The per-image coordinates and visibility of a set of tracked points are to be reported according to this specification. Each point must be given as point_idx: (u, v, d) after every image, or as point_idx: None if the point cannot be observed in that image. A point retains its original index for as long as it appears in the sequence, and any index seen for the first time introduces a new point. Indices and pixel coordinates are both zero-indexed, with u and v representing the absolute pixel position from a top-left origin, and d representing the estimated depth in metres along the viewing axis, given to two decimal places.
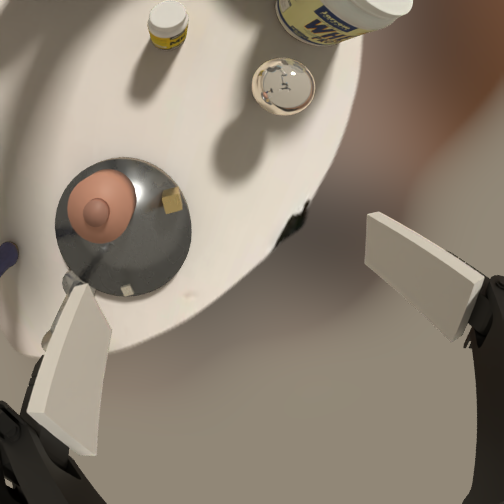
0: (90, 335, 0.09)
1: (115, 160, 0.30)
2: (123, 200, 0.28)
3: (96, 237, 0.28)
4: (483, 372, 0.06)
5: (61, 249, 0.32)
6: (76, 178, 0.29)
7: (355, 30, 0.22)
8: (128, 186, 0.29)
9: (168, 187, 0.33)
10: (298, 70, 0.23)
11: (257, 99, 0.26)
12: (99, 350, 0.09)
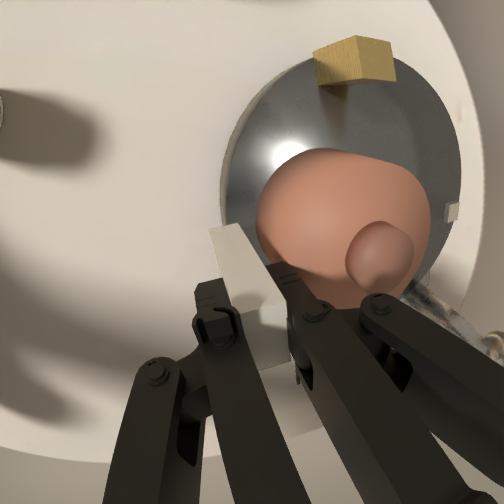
0: None
1: (229, 192, 0.14)
2: (371, 178, 0.10)
3: (414, 261, 0.13)
4: (327, 420, 0.06)
5: None
6: None
7: None
8: (320, 160, 0.12)
9: (312, 72, 0.12)
10: None
11: None
12: None
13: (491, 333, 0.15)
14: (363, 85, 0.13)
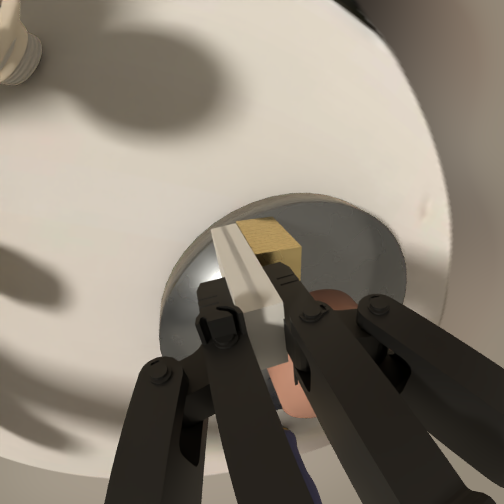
0: None
1: (161, 337, 0.17)
2: None
3: None
4: (325, 421, 0.06)
5: None
6: None
7: None
8: None
9: None
10: None
11: None
12: None
13: None
14: None
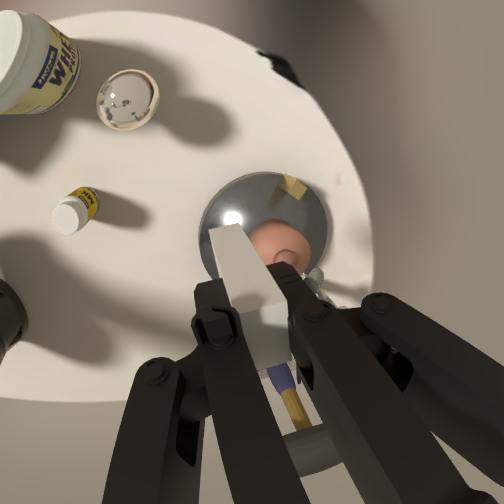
0: None
1: (223, 194, 0.36)
2: (297, 238, 0.36)
3: None
4: (328, 420, 0.06)
5: None
6: (202, 231, 0.38)
7: (53, 45, 0.16)
8: (287, 225, 0.38)
9: (279, 180, 0.37)
10: (108, 94, 0.20)
11: (143, 124, 0.25)
12: None
13: (340, 307, 0.39)
14: (293, 196, 0.39)
